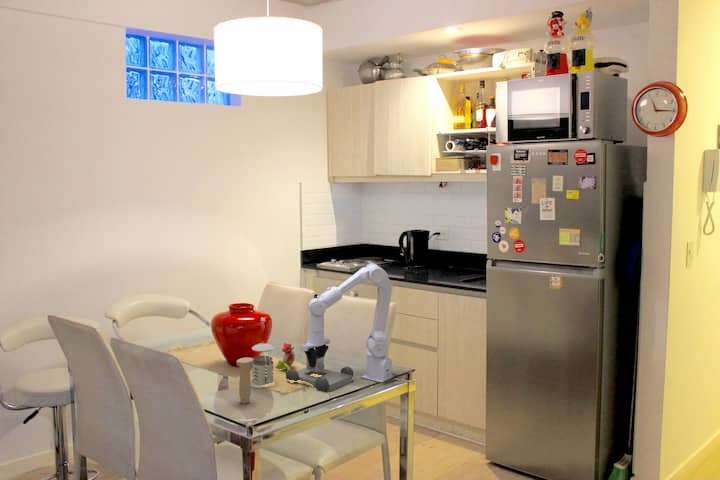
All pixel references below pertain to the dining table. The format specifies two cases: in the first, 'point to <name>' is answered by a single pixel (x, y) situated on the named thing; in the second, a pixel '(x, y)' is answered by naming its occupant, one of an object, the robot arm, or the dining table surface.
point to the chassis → (322, 378)
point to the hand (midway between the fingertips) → (315, 365)
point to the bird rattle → (286, 358)
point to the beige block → (317, 364)
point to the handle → (245, 378)
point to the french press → (262, 365)
